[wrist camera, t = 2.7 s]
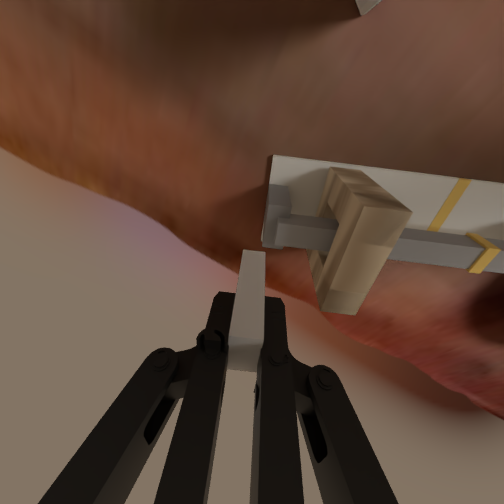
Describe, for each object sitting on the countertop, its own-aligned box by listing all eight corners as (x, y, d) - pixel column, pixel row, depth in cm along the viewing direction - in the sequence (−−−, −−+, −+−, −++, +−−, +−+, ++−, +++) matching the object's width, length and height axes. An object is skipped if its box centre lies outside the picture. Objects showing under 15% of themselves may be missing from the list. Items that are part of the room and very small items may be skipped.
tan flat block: (360, 170, 21) (413, 212, 13) (330, 251, 27) (355, 315, 19) (329, 166, 21) (364, 206, 13) (305, 248, 27) (320, 311, 19)
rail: (571, 191, 22) (682, 225, 16) (497, 268, 28) (559, 315, 22) (273, 154, 22) (273, 175, 16) (260, 239, 28) (258, 277, 22)
